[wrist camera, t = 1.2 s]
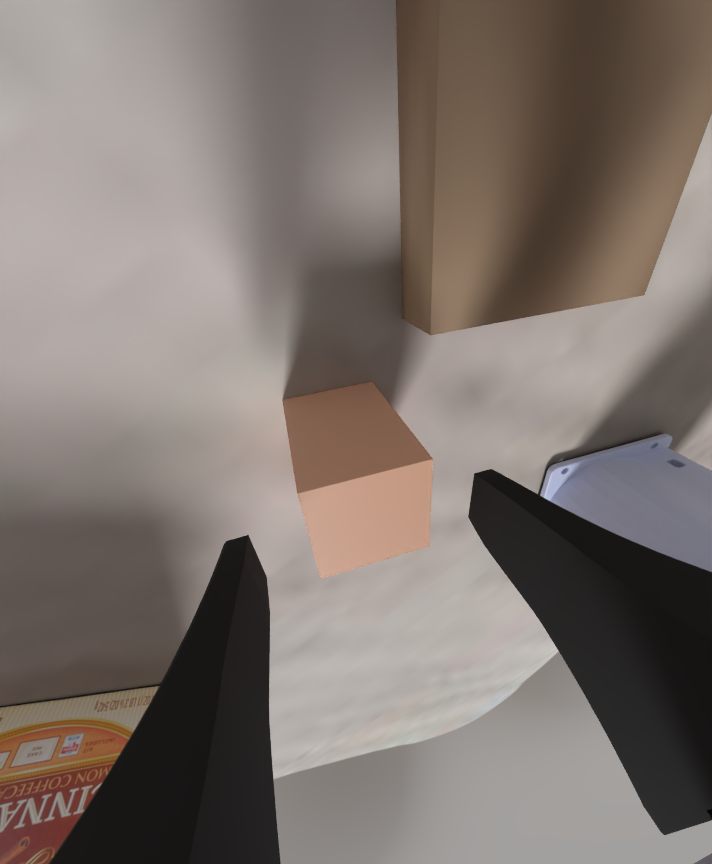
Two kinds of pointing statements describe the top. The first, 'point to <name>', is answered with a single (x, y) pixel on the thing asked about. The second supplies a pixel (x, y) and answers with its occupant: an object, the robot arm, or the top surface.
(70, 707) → the coffeecake box
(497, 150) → the walnut base block
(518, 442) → the top surface
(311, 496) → the terracotta block
